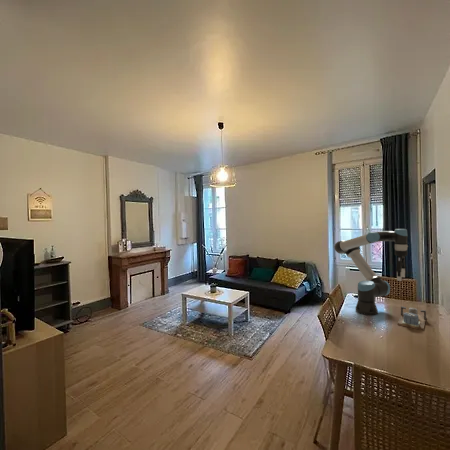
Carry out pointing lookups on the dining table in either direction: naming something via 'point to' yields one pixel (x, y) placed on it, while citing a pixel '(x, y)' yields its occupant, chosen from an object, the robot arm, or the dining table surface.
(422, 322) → the base
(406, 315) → the cap
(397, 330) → the dining table surface
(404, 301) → the dining table surface
